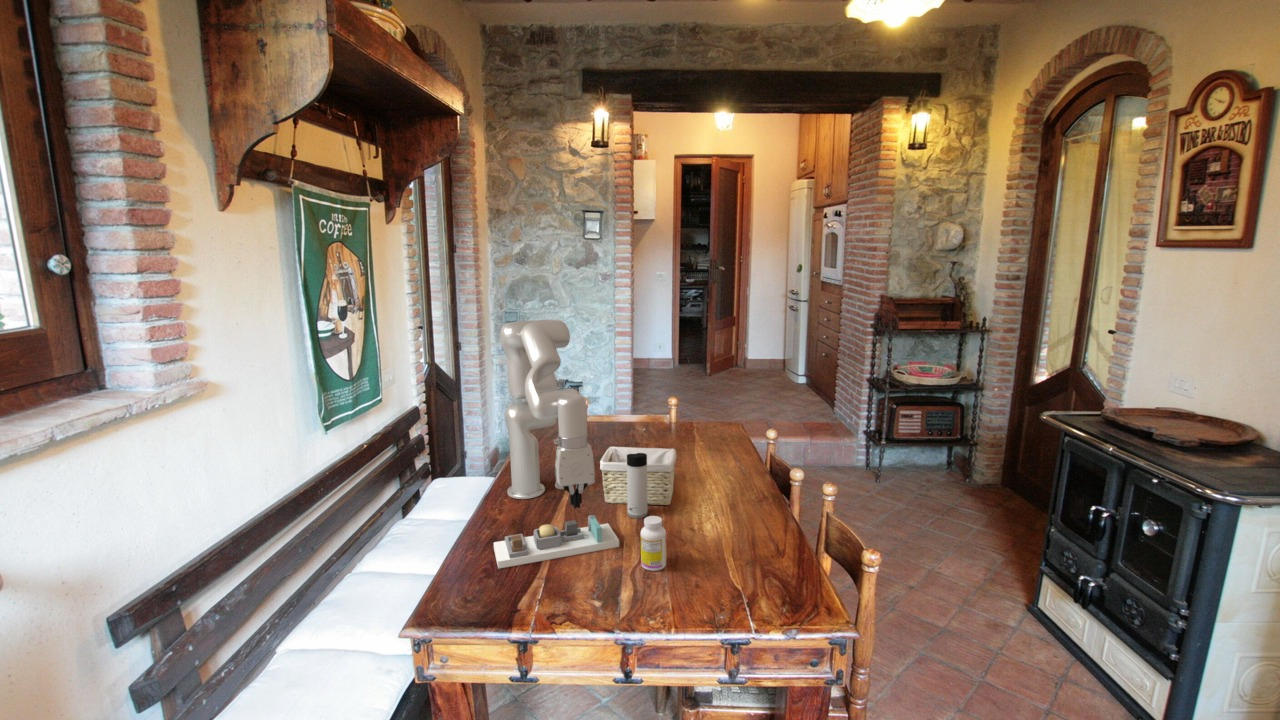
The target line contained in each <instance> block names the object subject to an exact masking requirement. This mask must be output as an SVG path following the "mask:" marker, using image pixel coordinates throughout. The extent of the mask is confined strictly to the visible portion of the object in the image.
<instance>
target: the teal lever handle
mask: <svg viewBox="0 0 1280 720" xmlns="http://www.w3.org/2000/svg"><path fill="white" fill-rule="evenodd" d="M600 525H601V524H600V523H599V521H598V520H597V515H595V514H590V515H588V517H587V527H588V531H590V532H591V533H592V534H593V536H594V538H595V539H596V541H597V542H601V541H602V528H601V526H600Z"/></svg>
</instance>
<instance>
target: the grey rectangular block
mask: <svg viewBox="0 0 1280 720" xmlns="http://www.w3.org/2000/svg"><path fill="white" fill-rule="evenodd" d="M577 528H578V522H577V521H576V519H572V520H568V521H564V530H565V535H566V537H567V536H573V535H578V530H577Z"/></svg>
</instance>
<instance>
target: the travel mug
mask: <svg viewBox="0 0 1280 720" xmlns="http://www.w3.org/2000/svg"><path fill="white" fill-rule="evenodd" d="M648 505H649V504H647V454H645V453H637V454H628V455H627V516H629V517H630V518H632V519H643V518H646V517H648V513H649V512H648V507H649V506H648Z"/></svg>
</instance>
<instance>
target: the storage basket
mask: <svg viewBox="0 0 1280 720" xmlns="http://www.w3.org/2000/svg"><path fill="white" fill-rule="evenodd" d="M637 453H645V454H647V505H651V506H654V505H656V506H657V505H659V506H662V505H663V506H669V505H670V504H671V502H672V498H673V493H674V482H675V480H674V479H675V467H676V465H675V464H676V461H677V450H676V449H675V448H662V447H661V448H660V447H629V446H609V447H608V448H607V449H606V451H605V453H604V454H603V456H601V458H600V461H599V464H600V465H599V466H600V467H599V470H600V471H601V473H602V474H601V475H602V486H603V492H604V502H605V503H610V504H625V505H626V504H627V455H628V454H637Z"/></svg>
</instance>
